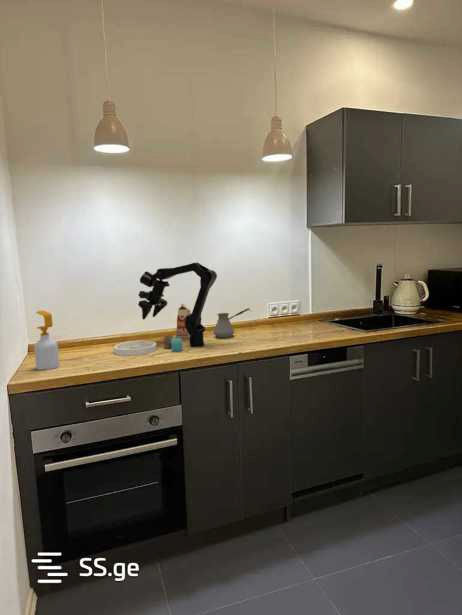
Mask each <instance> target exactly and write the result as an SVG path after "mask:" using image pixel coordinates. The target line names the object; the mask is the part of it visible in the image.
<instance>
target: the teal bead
mask: <svg viewBox="0 0 462 615" xmlns="http://www.w3.org/2000/svg"><path fill="white" fill-rule="evenodd" d="M171 345H172V349H171V352H172V353H180V352H182V351H183V341H182V338H175V337H173V338H172V339H171Z"/></svg>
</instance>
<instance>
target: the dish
mask: <svg viewBox="0 0 462 615" xmlns="http://www.w3.org/2000/svg"><path fill="white" fill-rule="evenodd" d="M157 349H158V345H157V342H155V341H154V340H131V341H125V342H121V343H117V344H115V345H114V346H113V353H114V354H115V355H117V356H124V357H131V356H132V357H133V356H134V357H135V356H141V355H148V354H150V353H154V352H156V351H157Z"/></svg>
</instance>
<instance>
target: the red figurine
mask: <svg viewBox="0 0 462 615" xmlns="http://www.w3.org/2000/svg"><path fill="white" fill-rule="evenodd" d="M190 314H192V312H191V310H190V309H189V308H188V307H187V306H186V305H185V304H183V303H181V306H179V308H178V309H177V316H176V328H175V329H176V331H175V336H174V338H182V342H190V339H189V337H190V335H189V333H188V331H187V329H186V327H185V323H184V322H185V321H186V317H187V315H190Z"/></svg>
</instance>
